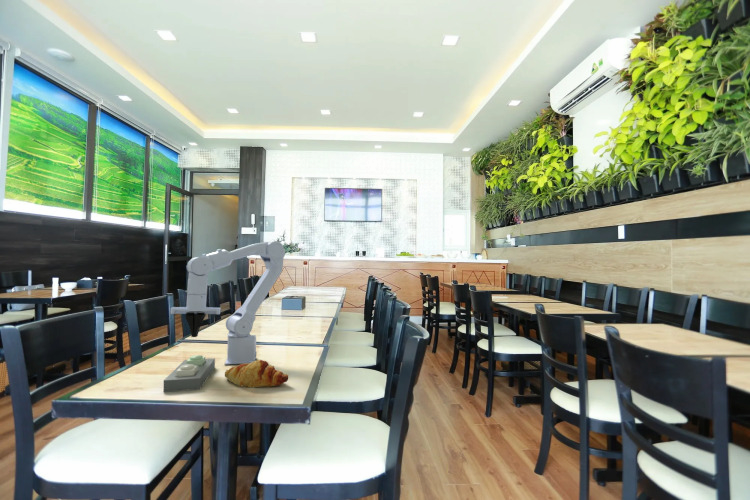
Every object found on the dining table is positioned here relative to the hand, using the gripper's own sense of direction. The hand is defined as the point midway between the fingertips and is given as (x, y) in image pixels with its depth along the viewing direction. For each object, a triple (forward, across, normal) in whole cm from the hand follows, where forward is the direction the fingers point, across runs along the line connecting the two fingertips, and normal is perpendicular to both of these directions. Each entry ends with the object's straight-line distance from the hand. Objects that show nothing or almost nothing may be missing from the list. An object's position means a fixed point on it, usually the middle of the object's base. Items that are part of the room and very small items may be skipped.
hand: (194, 336), depth 118 cm
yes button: (+9, -2, +5) cm, 10 cm away
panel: (+10, -2, +10) cm, 14 cm away
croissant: (+10, -21, +16) cm, 29 cm away
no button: (+9, -2, +15) cm, 17 cm away
